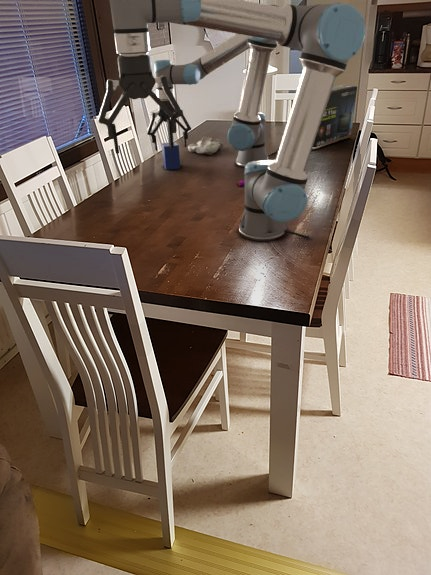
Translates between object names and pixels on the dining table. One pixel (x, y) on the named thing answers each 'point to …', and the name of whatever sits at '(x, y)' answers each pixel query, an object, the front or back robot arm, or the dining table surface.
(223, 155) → the dining table surface
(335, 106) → the router box
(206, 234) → the dining table surface
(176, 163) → the block
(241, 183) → the handgun
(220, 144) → the fossil
